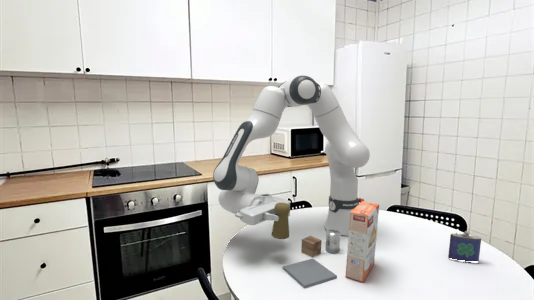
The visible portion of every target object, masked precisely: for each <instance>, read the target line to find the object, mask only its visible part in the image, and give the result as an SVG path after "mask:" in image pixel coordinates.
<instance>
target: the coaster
mask: <svg viewBox="0 0 534 300" xmlns="http://www.w3.org/2000/svg"><path fill="white" fill-rule="evenodd" d="M282 270H283V271H284V272H285V273H286V274H288V275H289V276H290V278H292V279H293V280H294V281H296V282H297V284H299V285H300V286H301V287H302V288H304V289H307V288H310V287H313V286H315V285H319V284H323V283H326V282H328V281H332V280H335V279H337V278H338V275H337V274H335V273H334V272H333V271H331V270H330V269H329V268H327V267H325V265H323V264H322V263H320V262H319V261H318V260H316V259H314V258H309V259H306V260H301V261H298V262H294V263H290V264H286V265H283V266H282Z"/></svg>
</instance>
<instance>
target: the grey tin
mask: <svg viewBox="0 0 534 300" xmlns="http://www.w3.org/2000/svg"><path fill="white" fill-rule="evenodd" d="M340 243H341V235H340V232H339V231H337V230H332V229H331V230H326V231H325V247H324V248H325V252H326V253H328V254H333V255H337V254H339V253H340V245H341V244H340Z"/></svg>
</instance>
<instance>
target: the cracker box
mask: <svg viewBox="0 0 534 300" xmlns="http://www.w3.org/2000/svg"><path fill="white" fill-rule="evenodd" d="M379 210H380V204H378V203H375V202H368V201H365V200H364V201H362V202H361V203H360V202H359V205H358V206H357V207H355V208H354V209H353V210H352V211H351V212H350V222H349V236H348V238H347V253H346V254H347V255H346V266H345V277H346V278H348V279H351V280H355V281H358V282H361V283H364V282H365V281H366V278H367V277H368V275H369V274H370V271H371V270H372V268H373V266H374V264H375V256H376V249H377V247H376V244H377V236H378V224H379V223H378V222H379Z"/></svg>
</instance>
